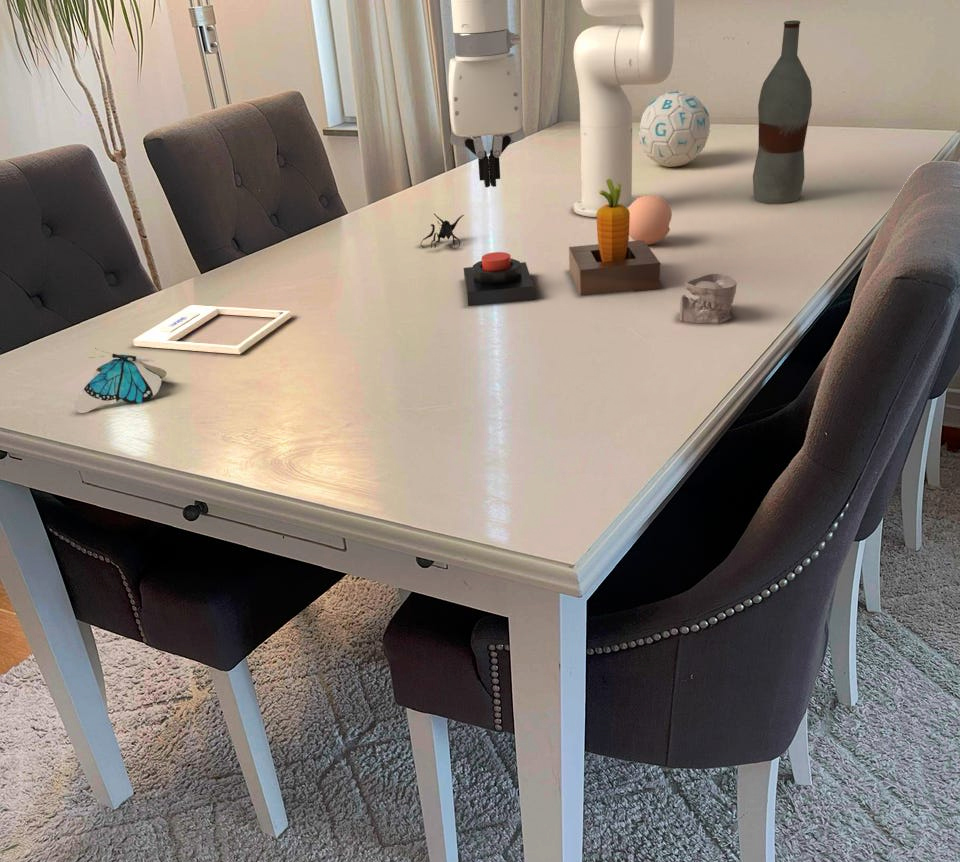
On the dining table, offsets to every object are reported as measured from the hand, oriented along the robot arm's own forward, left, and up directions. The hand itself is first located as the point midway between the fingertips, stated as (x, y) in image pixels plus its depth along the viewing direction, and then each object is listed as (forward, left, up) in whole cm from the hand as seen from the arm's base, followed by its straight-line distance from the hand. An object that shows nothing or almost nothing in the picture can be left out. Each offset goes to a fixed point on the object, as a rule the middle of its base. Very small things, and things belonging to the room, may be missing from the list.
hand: (490, 184), depth 139 cm
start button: (0, 0, -12) cm, 13 cm away
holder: (0, +18, -16) cm, 24 cm away
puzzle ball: (-72, +44, -16) cm, 86 cm away
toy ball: (-17, +27, -16) cm, 36 cm away
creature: (-27, -8, -16) cm, 33 cm away
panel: (0, 0, -16) cm, 16 cm away
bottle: (-38, +56, -16) cm, 70 cm away
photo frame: (+7, -43, -16) cm, 46 cm away
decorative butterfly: (+27, -51, -16) cm, 60 cm away
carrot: (0, +18, -16) cm, 24 cm away
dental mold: (+19, +28, -16) cm, 38 cm away
